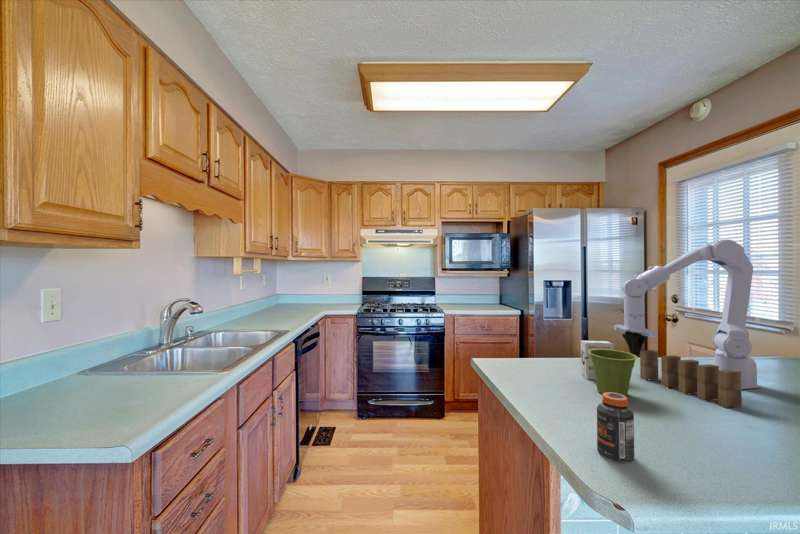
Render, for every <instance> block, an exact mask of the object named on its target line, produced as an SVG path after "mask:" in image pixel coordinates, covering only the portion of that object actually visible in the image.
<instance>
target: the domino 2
mask: <svg viewBox="0 0 800 534" xmlns="http://www.w3.org/2000/svg"><path fill="white" fill-rule="evenodd" d="M660 360H661V361H660V362H661V363H660V364H661V365H660V366H661V368H660V369H661V371H660V372H661V386H662V385H663V386H665V387H664V388H666V387H675V388H679V379H678V361H679V360H682V358H681V356H680V355H663V356H662V355H661V359H660ZM663 386H662V387H663Z"/></svg>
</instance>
